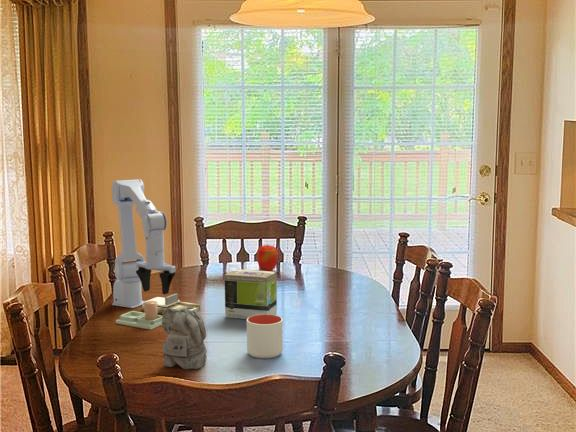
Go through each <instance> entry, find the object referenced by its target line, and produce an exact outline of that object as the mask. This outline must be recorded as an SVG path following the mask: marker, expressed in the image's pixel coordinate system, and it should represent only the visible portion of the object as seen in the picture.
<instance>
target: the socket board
mask: <svg viewBox="0 0 576 432" xmlns="http://www.w3.org/2000/svg"><path fill="white" fill-rule="evenodd" d="M162 316H163V315H161V314H158V319H155V320H153V321H151V320H145V312H144V311H142V312H141V311H135V310H131V311H128V312H126V313H123V314H121V315H119V317H118V319H116V320H115V324H118V325H122V326H123V325H124V326H129V327H135V328H140V329H147V330H150V331H151V330H153V329H156V328H157V327H160V326H162Z"/></svg>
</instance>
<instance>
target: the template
mask: <svg viewBox="0 0 576 432" xmlns="http://www.w3.org/2000/svg"><path fill="white" fill-rule="evenodd" d="M167 308H171V309H176V310H180V309H186V308H187V309H189V310H191V311H193V310H196V311H197V312H199V311H200V310H201V304H199V303H193V302H186V301H180V302H178V303H175V304H173V305H170V306H168V307H161V306H157V312H158V314H160V315H161V314H162V315H163V312H164V310H165V309H167ZM141 310H142V312H145V308H144V304H143V305H141Z"/></svg>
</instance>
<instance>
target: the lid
mask: <svg viewBox="0 0 576 432" xmlns="http://www.w3.org/2000/svg"><path fill="white" fill-rule="evenodd" d="M144 301H145V302H147V301H156V302H157V307H162V308H166V307H168V306H170V305H173V304H175V303H178V302H181V300H180V299H179V294H178V293H173V294H171V295H168V296H166V297H163V296H162V297H161V296H156V297H153V298H151V299H148V300H144ZM145 302H143V305H144V303H145Z"/></svg>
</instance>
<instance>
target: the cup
mask: <svg viewBox="0 0 576 432" xmlns="http://www.w3.org/2000/svg"><path fill="white" fill-rule="evenodd" d="M283 325H284V323H283V318H282V317H281V316H278V315H277V314H276V315H270V314H260V315H254V316H251V317H249V318H247V319H246V352H247V354H248V355H249V356H252V357H253V358H257V359H273V358H276V357H278V356H280V355H281V354H282V353H283V349H284V348H283V347H284V341H283V337H284V336H283V335H284V331H283V330H284V329H283V328H284V326H283Z"/></svg>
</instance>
